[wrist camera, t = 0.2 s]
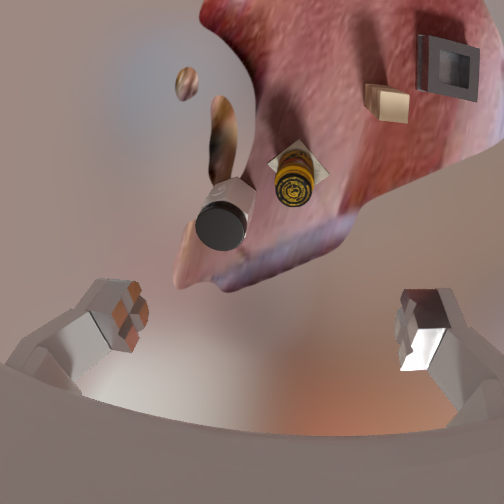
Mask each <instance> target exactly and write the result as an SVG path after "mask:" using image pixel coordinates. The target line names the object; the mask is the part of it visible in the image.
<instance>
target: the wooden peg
mask: <svg viewBox="0 0 504 504" xmlns="http://www.w3.org/2000/svg"><path fill="white" fill-rule="evenodd" d="M364 106H365V107H366V108H367V109H368V110H369V111H370V112H371V113H372V114H373V115H374V116H375V117H377V118H378V119H379V120H383V121H392V122H400V123H408V110H409V94H406V93H404V92H402V91H400V90H397V89H395V88H392V87H390V86H387V85H378V84H369V83H365V94H364Z"/></svg>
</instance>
